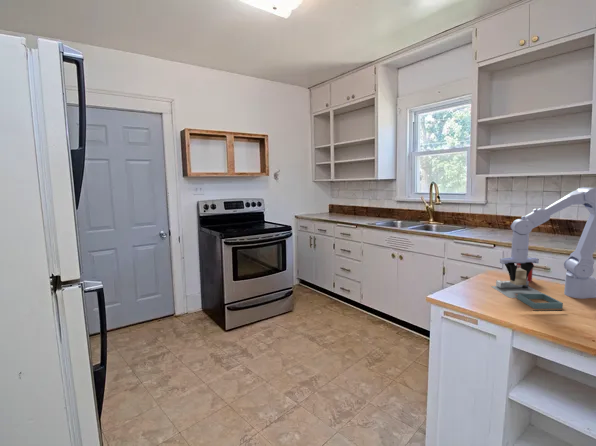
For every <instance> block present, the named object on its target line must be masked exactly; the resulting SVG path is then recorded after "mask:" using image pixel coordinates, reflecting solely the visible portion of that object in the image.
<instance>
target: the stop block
mask: <svg viewBox="0 0 596 446" xmlns="http://www.w3.org/2000/svg"><path fill="white" fill-rule="evenodd" d="M526 273H527V271H526V270H523V269H521V268H517V269H516V274H515V281H512V280H510V279H509V281H510V282H511V283H513V284H515V285H526Z"/></svg>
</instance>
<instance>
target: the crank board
mask: <svg viewBox="0 0 596 446" xmlns="http://www.w3.org/2000/svg"><path fill="white" fill-rule="evenodd" d="M490 287H491V288H493V289H494V290H496V291H497V292H499V293H501V294H502V295H504V296H506V297H507V298H509V299H517V295H518V294H541V293H542V292H541V291H540V290H537V289H536V288H533V287H532V286H528V288H499V287H497V286H496V285H492V286H491V285H490Z"/></svg>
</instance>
